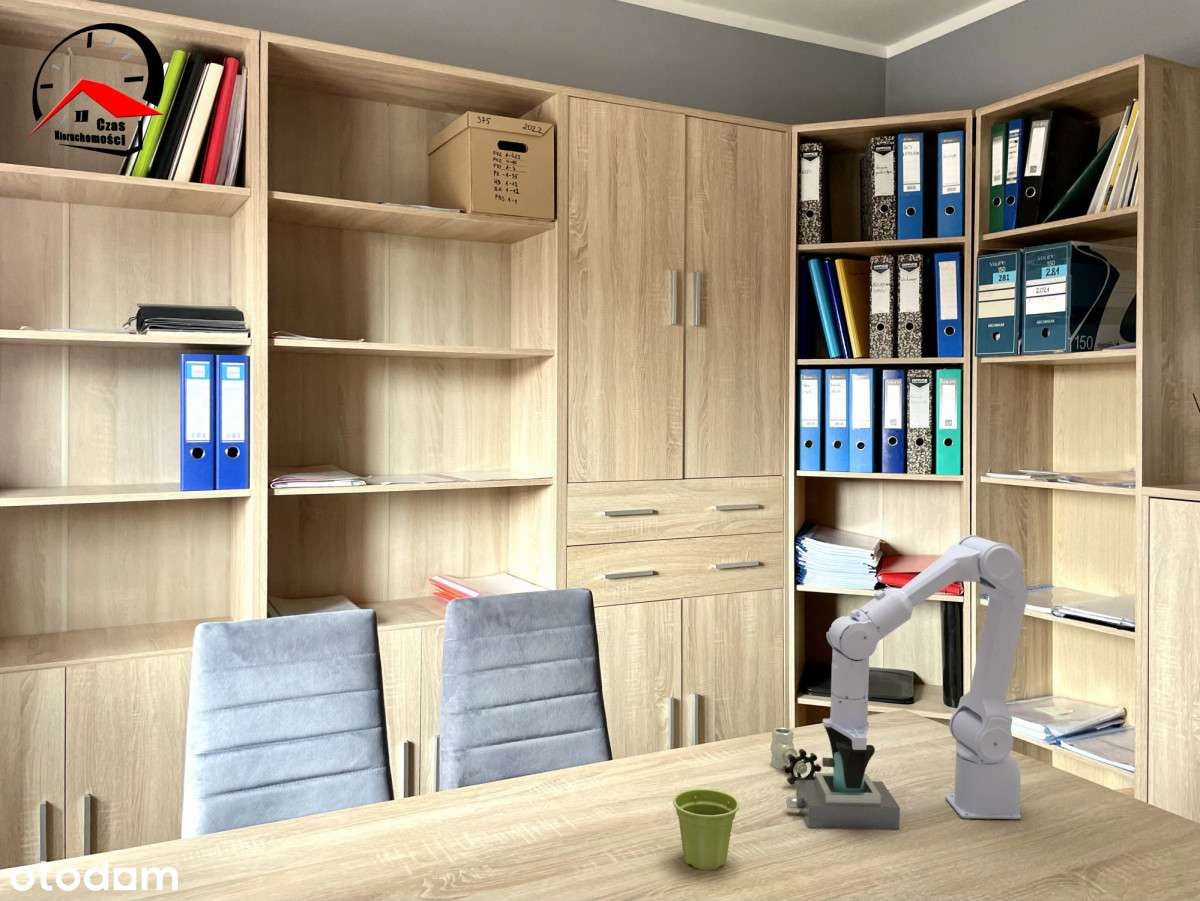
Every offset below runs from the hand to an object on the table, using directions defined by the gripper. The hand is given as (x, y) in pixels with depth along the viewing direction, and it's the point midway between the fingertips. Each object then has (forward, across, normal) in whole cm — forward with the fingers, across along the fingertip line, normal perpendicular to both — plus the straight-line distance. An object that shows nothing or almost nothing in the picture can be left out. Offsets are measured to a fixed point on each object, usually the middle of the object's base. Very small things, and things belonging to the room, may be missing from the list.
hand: (847, 777), depth 156 cm
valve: (+6, -16, -6) cm, 18 cm away
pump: (+2, 0, 0) cm, 3 cm away
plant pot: (+6, +16, -24) cm, 30 cm away
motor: (+6, 0, -1) cm, 6 cm away
